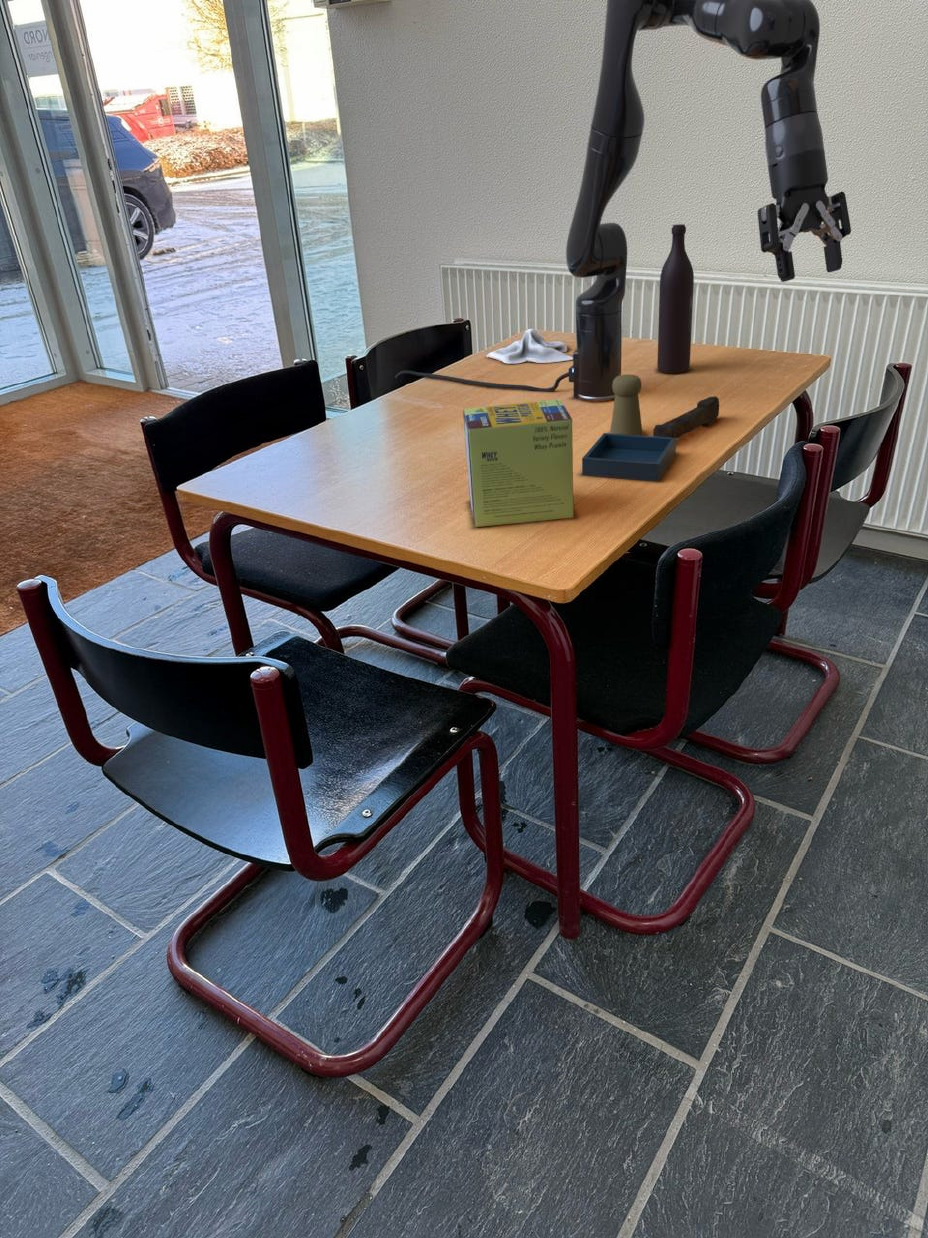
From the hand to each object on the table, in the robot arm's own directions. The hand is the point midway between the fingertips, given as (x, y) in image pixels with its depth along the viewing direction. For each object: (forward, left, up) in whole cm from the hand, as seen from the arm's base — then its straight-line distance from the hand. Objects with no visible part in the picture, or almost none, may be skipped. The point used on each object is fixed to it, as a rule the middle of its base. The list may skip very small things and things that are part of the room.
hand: (811, 275), depth 130 cm
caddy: (-26, -1, -31) cm, 40 cm away
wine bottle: (-31, +58, -31) cm, 73 cm away
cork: (-30, +14, -31) cm, 45 cm away
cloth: (-67, +67, -31) cm, 100 cm away
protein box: (-37, -23, -31) cm, 54 cm away
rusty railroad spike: (-20, +18, -31) cm, 41 cm away
